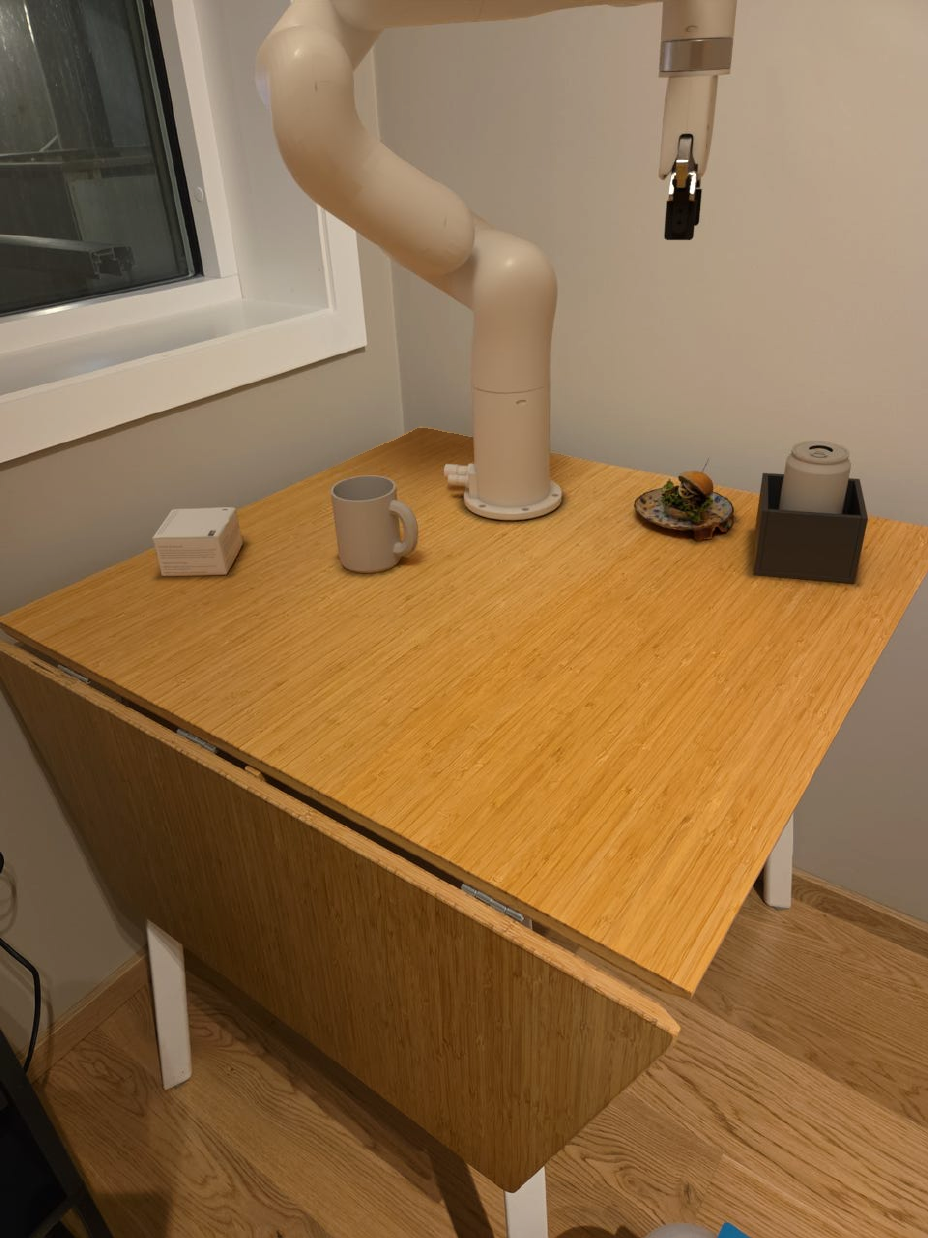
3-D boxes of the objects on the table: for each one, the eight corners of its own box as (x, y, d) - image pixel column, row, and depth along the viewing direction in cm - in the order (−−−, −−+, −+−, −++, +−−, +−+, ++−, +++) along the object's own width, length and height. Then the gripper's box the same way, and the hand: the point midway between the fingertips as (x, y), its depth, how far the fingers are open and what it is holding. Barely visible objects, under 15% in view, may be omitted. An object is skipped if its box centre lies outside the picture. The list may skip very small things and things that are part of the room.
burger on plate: (628, 499, 115) (631, 444, 111) (722, 497, 114) (728, 441, 110) (640, 542, 105) (644, 483, 101) (743, 540, 104) (751, 480, 100)
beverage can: (836, 544, 101) (856, 442, 95) (830, 570, 96) (850, 464, 90) (777, 535, 103) (792, 435, 97) (768, 560, 99) (783, 456, 92)
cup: (359, 541, 108) (351, 471, 104) (434, 554, 105) (429, 483, 100) (328, 568, 103) (317, 496, 98) (405, 583, 99) (399, 509, 94)
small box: (180, 546, 109) (171, 507, 107) (244, 544, 109) (237, 505, 106) (160, 577, 103) (149, 537, 100) (227, 576, 102) (219, 535, 100)
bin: (753, 574, 97) (762, 510, 93) (754, 533, 106) (762, 472, 102) (854, 584, 95) (868, 518, 91) (847, 540, 103) (859, 478, 99)
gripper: (666, 60, 105) (656, 220, 114) (651, 63, 90) (641, 245, 99) (734, 57, 103) (718, 220, 112) (728, 59, 89) (711, 245, 98)
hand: (682, 231), depth 106 cm, fingers open, 9 cm apart
